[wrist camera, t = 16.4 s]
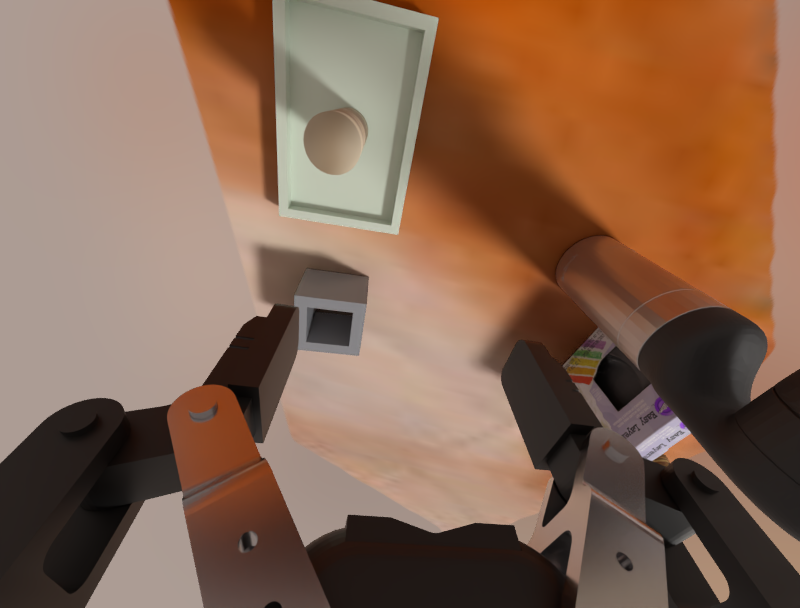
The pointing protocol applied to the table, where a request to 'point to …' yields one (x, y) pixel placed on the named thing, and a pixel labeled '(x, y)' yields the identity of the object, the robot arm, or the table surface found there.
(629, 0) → the table surface
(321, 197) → the sage tray
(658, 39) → the table surface
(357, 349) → the grey cup
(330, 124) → the birch peg
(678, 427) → the cake pan box
